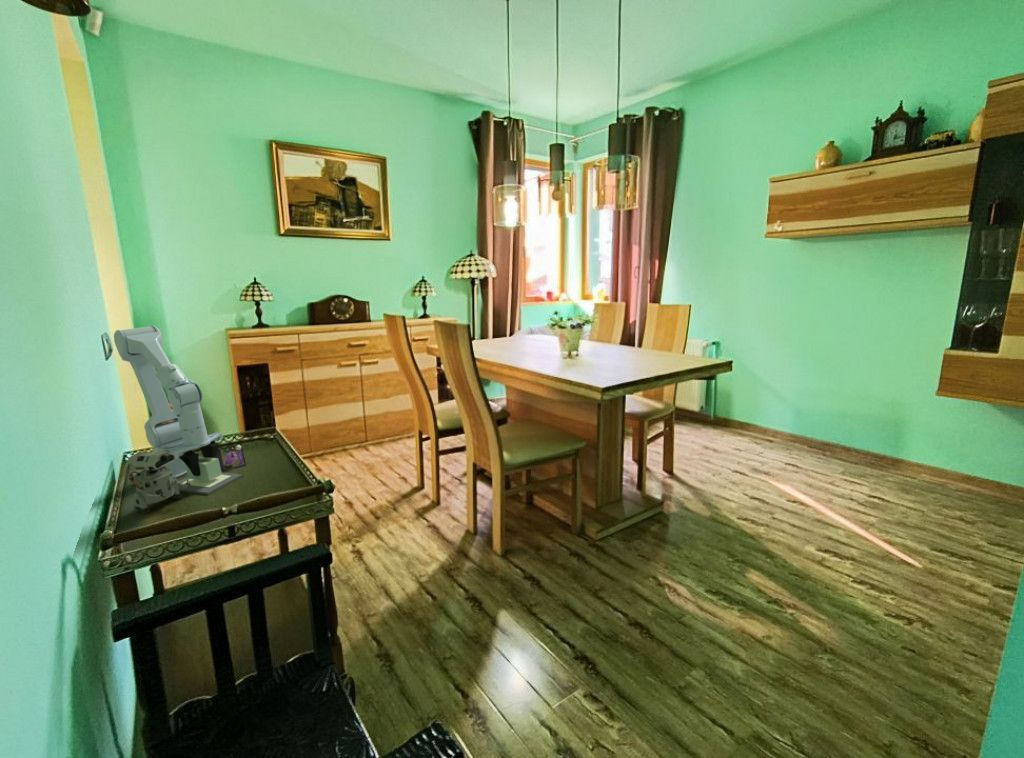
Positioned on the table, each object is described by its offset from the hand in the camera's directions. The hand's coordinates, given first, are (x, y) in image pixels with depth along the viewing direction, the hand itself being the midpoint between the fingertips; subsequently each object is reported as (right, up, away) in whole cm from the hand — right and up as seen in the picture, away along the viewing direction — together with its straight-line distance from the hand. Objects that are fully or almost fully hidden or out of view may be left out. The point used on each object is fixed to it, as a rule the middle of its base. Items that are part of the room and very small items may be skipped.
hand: (204, 471), depth 134 cm
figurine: (-3, -7, -12) cm, 14 cm away
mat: (0, -3, 0) cm, 3 cm away
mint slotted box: (0, -1, 0) cm, 1 cm away
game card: (+1, -1, +11) cm, 11 cm away
